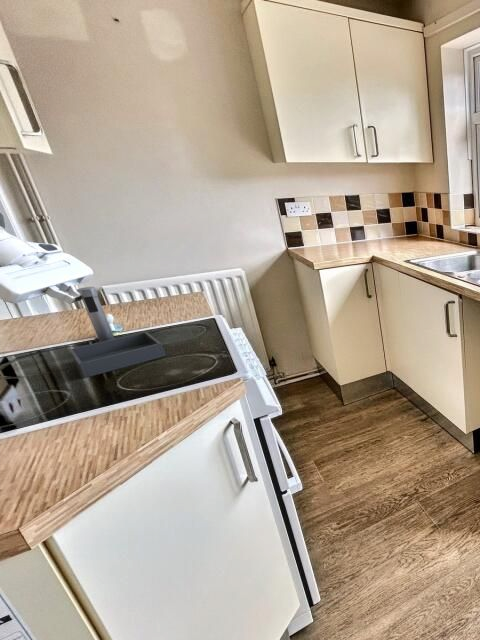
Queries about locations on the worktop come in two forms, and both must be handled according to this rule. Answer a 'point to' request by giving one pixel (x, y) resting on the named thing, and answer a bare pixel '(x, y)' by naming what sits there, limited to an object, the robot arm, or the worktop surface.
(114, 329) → the pacifier
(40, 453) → the worktop surface
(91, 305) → the spout
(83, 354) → the sink
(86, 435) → the worktop surface
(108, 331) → the faucet column
